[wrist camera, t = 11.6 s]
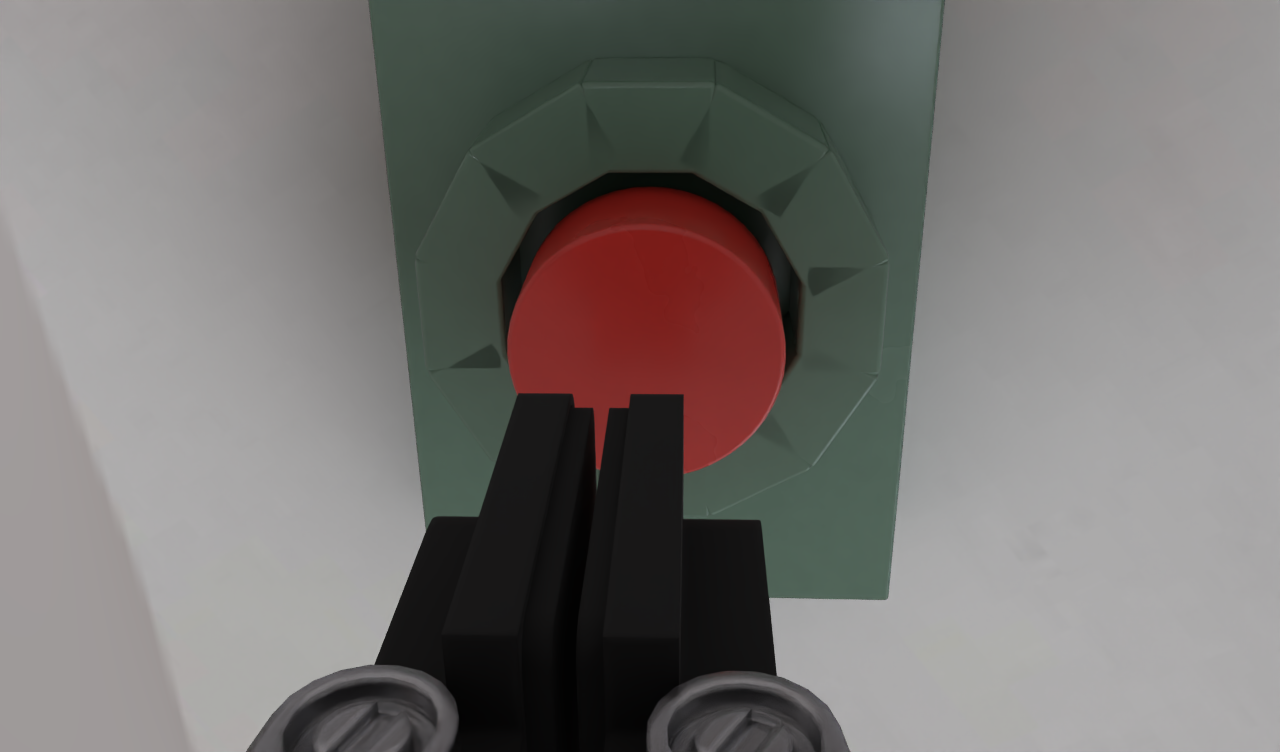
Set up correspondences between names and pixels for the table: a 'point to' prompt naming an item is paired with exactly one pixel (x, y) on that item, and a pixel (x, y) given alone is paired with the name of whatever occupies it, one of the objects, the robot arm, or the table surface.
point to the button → (653, 316)
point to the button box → (689, 161)
